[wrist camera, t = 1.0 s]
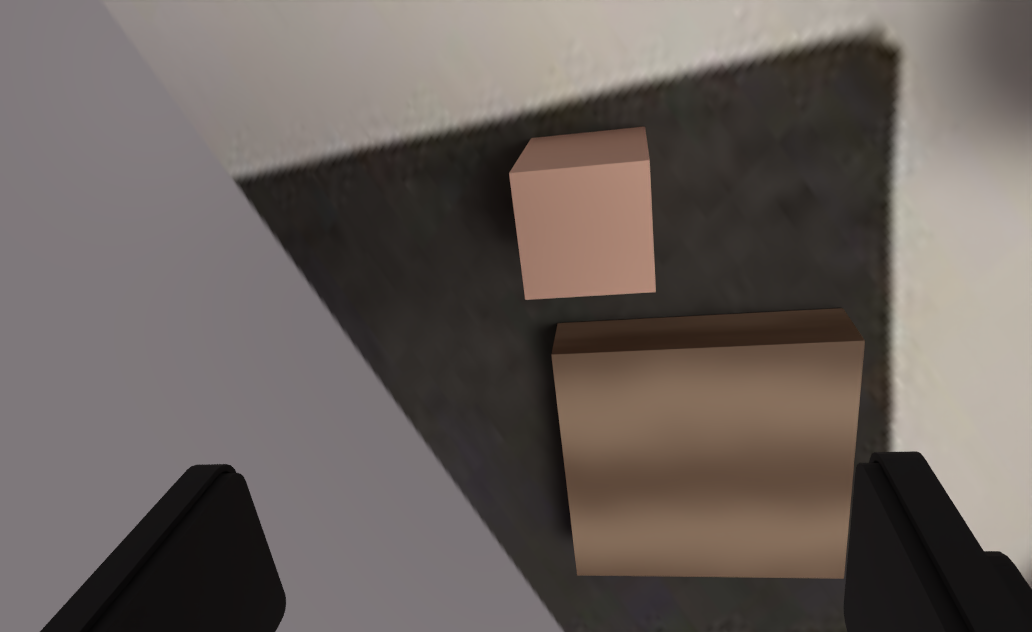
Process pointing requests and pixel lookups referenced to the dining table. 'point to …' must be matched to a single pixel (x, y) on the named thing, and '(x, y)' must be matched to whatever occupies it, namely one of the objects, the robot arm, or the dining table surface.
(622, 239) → the terracotta block
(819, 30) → the dining table surface
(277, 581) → the robot arm
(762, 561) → the walnut base
